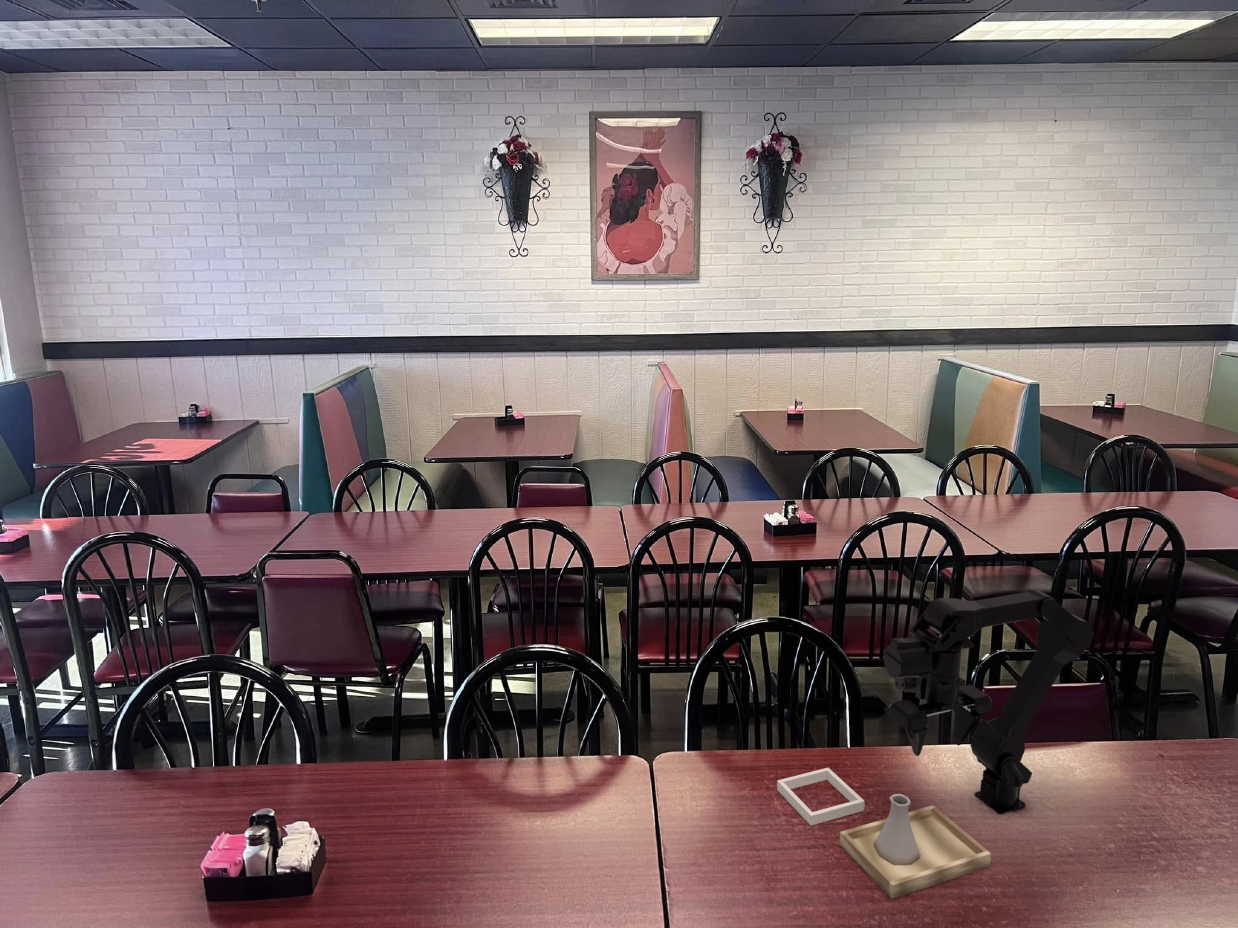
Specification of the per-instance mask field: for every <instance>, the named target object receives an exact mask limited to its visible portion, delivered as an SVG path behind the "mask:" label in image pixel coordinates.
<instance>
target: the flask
mask: <svg viewBox="0 0 1238 928" xmlns="http://www.w3.org/2000/svg"><path fill="white" fill-rule="evenodd" d="M889 801H890V810H889V813H888V817H887V818H886V819H887V820H886V822H885V824H884V826H883V828H882V830H881V832H880V833H879V835H878V837H877V838H876V840H875V842H874V845H875V848H876V850H877V852H878V854H879V855H880V856H882V857H883V858H885V859H887V860H888V861H890V862H892V863H893V864H910V863H912V862H914V861H915V860H916V859H917V858H919V857H920V852H919V849H918V847H917V844H916V841H915V838H914V835H913V832H912V828H911V825H910V821H909V814H908V812H909V807H910V806H911V800H910V798H909V797H908V796H906V795H904V794H902V793H893V794H892V795H891V796H889Z"/></svg>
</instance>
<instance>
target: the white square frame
mask: <svg viewBox="0 0 1238 928" xmlns="http://www.w3.org/2000/svg"><path fill="white" fill-rule="evenodd" d="M823 781H828V782H829V783H830V785H832V786H833V788H835V789H836V790H837V791H838V792H839V793H840V794H841V795H843V796H844V798H845V799H847V800H848V801H849V802H845V803H842V804H837V805H835V806H831V807H827V808H823V809H820V810H819V809H818V810H816V811H812V809H810V808H809V807H808V806H807V805H806V804H805V803H804V802H803V800H801V799H800V797H798V796H797V795H796V793H795V792H793V791H792V790H793V789H797V788H800V787H804V786H807V785H812V784H816V783H820V782H823ZM776 790H777V791H778V793H780V795H781V796H782V797H783V798H784V799H785V800H786V802H788V803H789V804H790V805H791V806H792V807H793V809H795V810H796V811H797V813H798V814H799V815H800V816H801V817H802V818H803V819H804V820H805V821H806V823H808V824H809V825H810V826H814V825H818V824H821V823H825V822H828V821H833V820H836V819H839V818H843V817H846V816H850V815H853V814H857V813H861V812H864V811H865V803H866V802H865V800H864V799H863V798H862V797H861V796H860V795H859V794H858V793H857V792H855V791H854V790H853V789H852V788H851V787H850V786H849V785H848V784H847V783H846V782H845V781H843V779H841V777H839V776H838V775H837V774H836V773H835V772H834V771H833V770H832V769H830V767H825V768H821V769H818V770H813V771H810V772H805V773H802V774H798V775H795V776H794V775H793V776H790V777H786V778H782V779H778V780H776Z"/></svg>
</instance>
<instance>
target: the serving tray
mask: <svg viewBox="0 0 1238 928" xmlns="http://www.w3.org/2000/svg"><path fill="white" fill-rule="evenodd" d="M908 814H909V821H910V825H911V828H912V832H913V835H914V838H915V841H916V844H917V847H918V849H919V852H920V857H919V858H917V859H916V860H915V861H914V862H912V863H910V864H893V863H892V862H890V861H888V860H887V859H885V858H883V857H882V856H880V855H879V854H878V852H877V850H876V848H875V845H874V842H875V840H876V838H877V837H878V835H879V833H880V832H881V830H882V828H883V826H884V824H885V822H886V820H887V818H884V819H880V820H877V821H873V822H871V823H867V824H862V825H858V826H856V827H853V828H849V829H846V830H842V831H840V832H839V846H840V847H841V848H843V850H845V852H846V853H847V854H848V855H849V856H850V857H851V858H852V859H853V860H854V861H855V862H856V864H858V865H859V866H860V868H862V869H863V871H864V872H865V873H867V875H868V876H869V877H870V878H871V879H872V880H873V881H874V882H875V883H876V884H877V885H878V886H879V887H880V889H882V890H883V891H884V892H885V893H886V894H887V896H888V897H890V898H891V900H893V899H896V898H900V897H902V896H905V895H907V894H911V893H914V892H918V891H921V890H923V889H927V888H929V887H932V886H936V885H939V884H941V883H944V882H949V881H951V880H953V879H956V878H960V877H963V876H965V875H969V874H972V873H975V872H977V871H981V870H984V869H986V868H989V867H991V859H992V853H991V852H990V851H989V850H987V849H986V848H985V847H984V846H983V845H981V844H980V843H979V842H978V841H976V840H975V839H974V838H973V837H971V835H969V833H966V831H964V830H963V829H962V828H961V827H960V826H958V825H957V824H956V823H955V822H953V820H951V819H950V818H948V817H947V816H946V815H945V814H944V813H943V812H941V810H939V809H938V808H937V807H936V806H934V805H933V804H932V805H928V806H925V807H922V808H918V809H915V810H912V811H908Z"/></svg>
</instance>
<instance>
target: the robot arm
mask: <svg viewBox="0 0 1238 928" xmlns="http://www.w3.org/2000/svg"><path fill="white" fill-rule="evenodd" d="M1031 619H1032V620H1033V619H1035V620H1036V621H1037V622H1038V623H1039V625H1038V627H1037V630H1036V636H1035V637H1036V644H1035V645H1036V649H1035V652H1034V654H1033V655H1032V658H1031V659H1030V661H1029V663H1028V664H1027V666H1026V668H1025V669H1024V671H1023V673H1022V675H1021V676H1020V679H1019V680H1018V682H1017V683H1016V685H1015V687H1014V689H1013V690H1012V692H1011V694H1010V696H1009V697H1008V699H1007V701H1006V703H1005V704H1004V706H1003V707H1002V709H1001V711H1000V713H999V714H998V715H997V717H995V718H993V719H991V720H988V721H987V720H985V719H984V718H985V717H986V713H990V712H992V706H993V701H992V699H991V697H990V696H989V694H987V693H986V692H984V691H983V690H980V689H979V688H977V687H975V686H973V685H972V684H967V685H966V680H965V679H963V678H962V677H961V670H962V669H961V668H962V658H963V657H962V656H963V650H964V649H965V650H966V649H972V648H974V647H975V644H974V643H973V642H972V641H971V640H970V639H969V638H970V637H974V636H975V635H976V634H977V633H978V632H979V631H980V630H981V629H984V628H988V627H994V626H999V625H1005V624H1010V623H1016V622H1021V621H1027V620H1031ZM929 629H931V630H933V631H935V633H937V634H939V635H940V636H936V635H935V634H933V633H931V632H930V631H929ZM909 633H910V634H911V635H912V636H913V637H912V636H911V637H904V638H903V637H902V638H900V637H895V638H892V639H891V644H889V645H887V646H886V648H885V650H884V651H883V664H884V667H885V670H886V672H887V674H888V675H889V677H891V678H893V679H894V685H895V688H896V690H901V691H903V693H913V694H914V693H915V697H916V698H917V699H918V700H920V701H921V700H922V701H923V703H922V704H919V705H917V704H916V703H914V702H913V701H911V700H910V699H909V698H906V699H903V700H898V701H897V700H896V701H892V702H891V703H889V704H888V709H887V717H888V718H890V719H891V720H892V721H894V722H895V723H896V724H898V725H899V726H900V727H902V728H903V729H904V730H905V732H906V734H907V737H908V740H909V743H910V747H911V750H912V752H913V755H914V756H916V757H919V756H920V755H921V752H922V750H923V747H924V744H925V741H926V737H927V735H928V732H929V731H928V730H929V728H927V727H926V726H927V724H928V721H929V718H928V717H931V716H934V715H935V716H936V715H938V714H944V713H947V712H950V711H952V710H953V712H954V720H953V721H954V723H953V742H954V744H955V745H956V746H958V747H959V746H961V745H962V743H963V742H964V741H965V739H966V738H967V736H968V735H969V734H970V733H971V731H972V730H973V729H974V727H975V726H977V724H978V726H977V728H976V729H975V730H974V732H973V733H972V734H971V735H970V737H971V738H972V739H971V742H970V746H969V747H970V748H971V753H972V754H973V755H974V757H976V760H977V762H978V763H980V764H981V765H983V766H984V768H985V769H983V771H982V779H981V780H980V790H979V791H975V792H974V797H975V798H977V799H978V800H979V801H980V802H982V803H984V804H985V805H986V806H987V807H989V808H990V809H991V810H992V811H994V812H995V813H996V814H998V815H1004V814H1007V813H1011V812H1013V811H1016V810H1021V809H1023V808H1026V802H1024V801H1023V800H1021V799H1020V794H1021V788H1022V787H1023V785H1026V784H1029V782H1030V780H1031V778H1032V775H1033V772H1032V771H1031V770H1030V769H1029V768H1028V767H1026V765H1024V764H1023V762H1022V759H1023V757H1024V753H1025V751H1026V749H1025V748H1026V742H1025V741H1026V738H1025V737H1026V736H1025V733H1026V731H1027V729H1028V728H1029V726H1030V724H1031V723H1032V720H1033V719H1034V718H1035V716H1036V713H1037V712H1038V711H1039V709H1040V708H1041V705H1042V704H1043V702H1044V700H1045V699H1046V697H1047V695H1048V693H1049V691H1050V689H1052V687H1053V685H1054V683H1055V681H1056V679H1057V678H1058V676H1059V674H1060V672H1061V671H1062V669H1063V668H1064V666H1065V665H1067V664H1069V663H1071V662H1074V661H1075V660H1077V659H1079V658H1080V657H1081V656H1082V655H1083V653H1084V652H1086V651H1087V649H1088V647H1089V646H1090V645H1091V643H1092V642H1093V639H1094V636H1095V635H1094V634H1095V633H1094V632H1093V627H1092V625H1091V624H1090V623H1089V622H1088V621H1086V620H1084V619H1082V618H1081V617H1078V616H1077V615H1075V614H1073V613H1071V612H1069V610H1067V609H1066V608H1064V607H1063V606H1062V605H1061V604H1060V603H1058V602H1057V601H1056V599H1055V598H1054V597H1052V596H1050V595H1049V594H1046V593H1045V592H1042V591H1040V590H1039V589H1028V590H1026V591H1024V592H1017V593H1013V594H1007V595H1001V596H994V597H991V598H990V597H989V598H983V599H977V600H965V599H960V598H953V597H952V598H950V597H949V598H948V597H946V598H945V597H944V598H943V597H939V598H935V599H932V600H931V601H930V602H929V604H928V605H927V606H926V608H925V609H924V611H923V613H922V614H921V616H919V618H918V619H917V621H916V622H915V624H914V625H913V626H912V627H911V629H910V631H909ZM982 718H983V719H982Z"/></svg>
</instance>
